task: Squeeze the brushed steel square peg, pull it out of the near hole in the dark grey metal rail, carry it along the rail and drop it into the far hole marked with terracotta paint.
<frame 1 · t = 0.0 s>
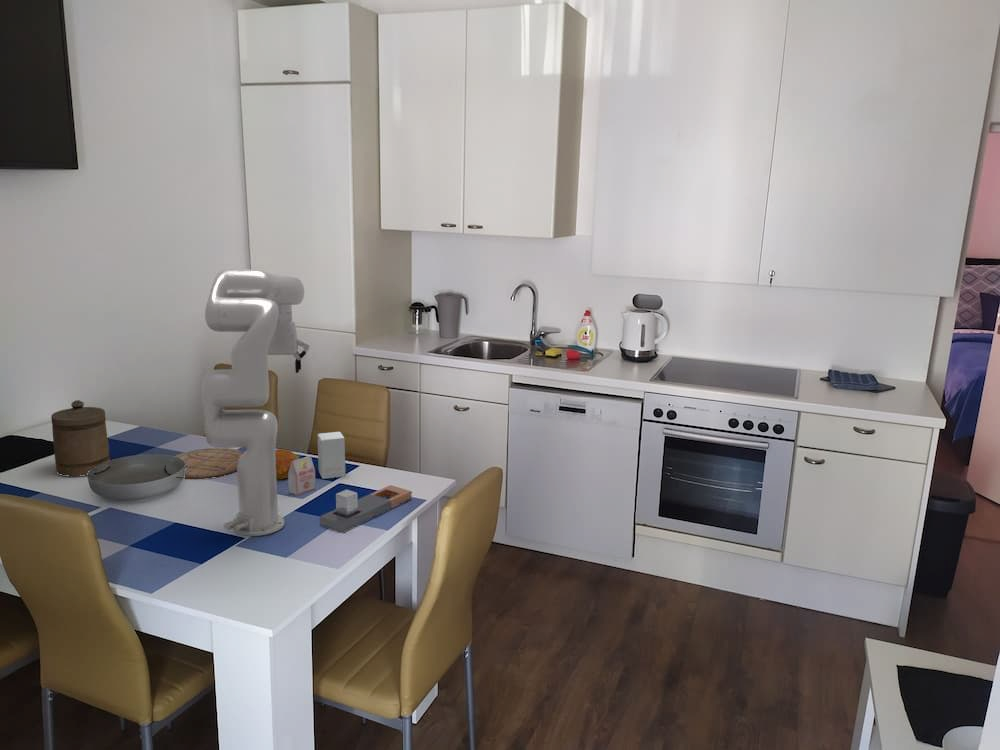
hand: (281, 372, 239), 31 cm above the table, tool pointing down, fingers open, 9 cm apart
supplement box: (331, 474, 241), on the table
rail: (367, 511, 213), on the table
white printed paper bag: (302, 491, 227), on the table
trivet: (207, 466, 246), on the table
croissant: (279, 473, 241), on the table
steel peg: (347, 521, 207), resting in rail
wooden container: (83, 469, 240), on the table
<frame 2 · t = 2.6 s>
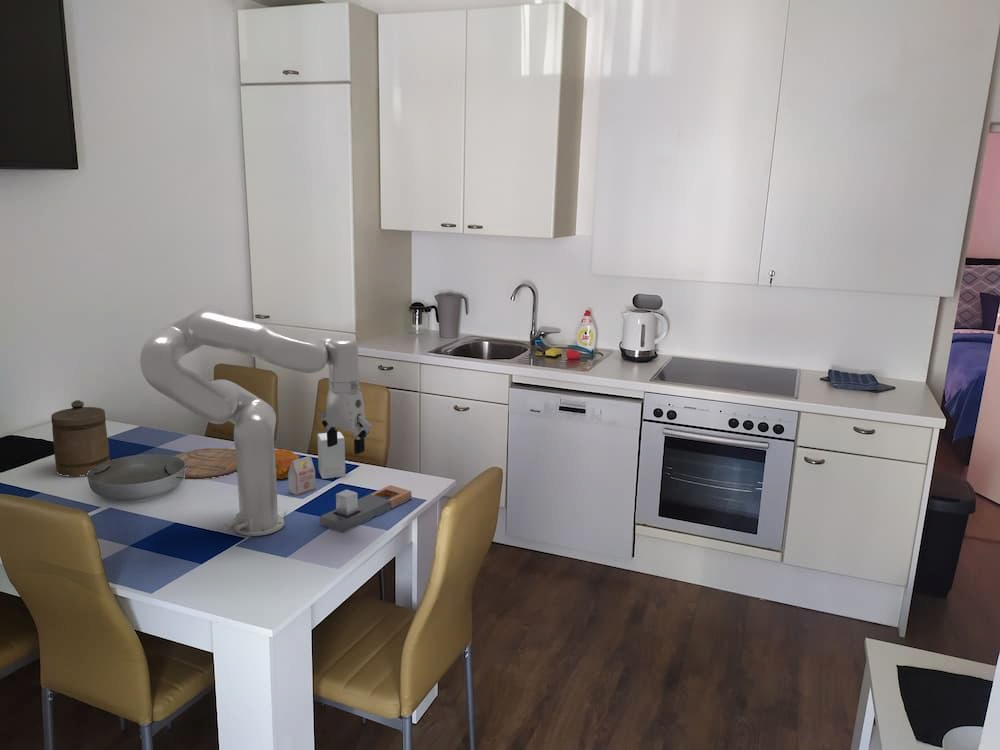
hand: (345, 449, 202), 20 cm above the table, tool pointing down, fingers open, 9 cm apart
nothing on the table moved.
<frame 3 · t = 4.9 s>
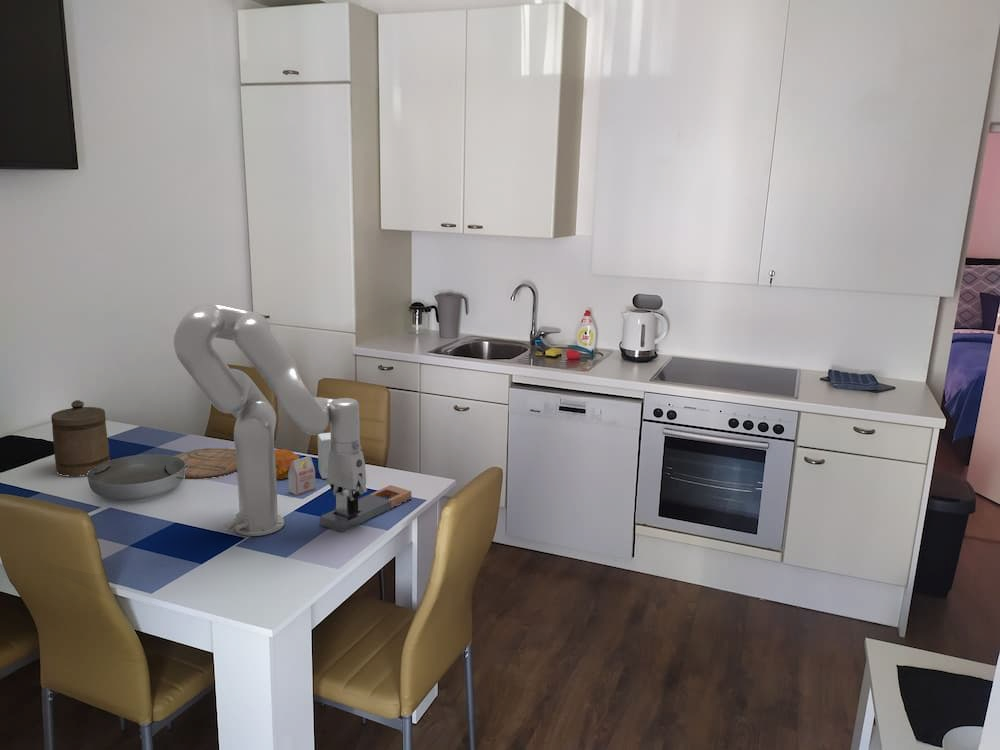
hand: (346, 509, 206), 3 cm above the table, tool pointing down, fingers closed on steel peg, 4 cm apart
steel peg: (346, 521, 207), resting in rail, touching gripper
everything else where it was.
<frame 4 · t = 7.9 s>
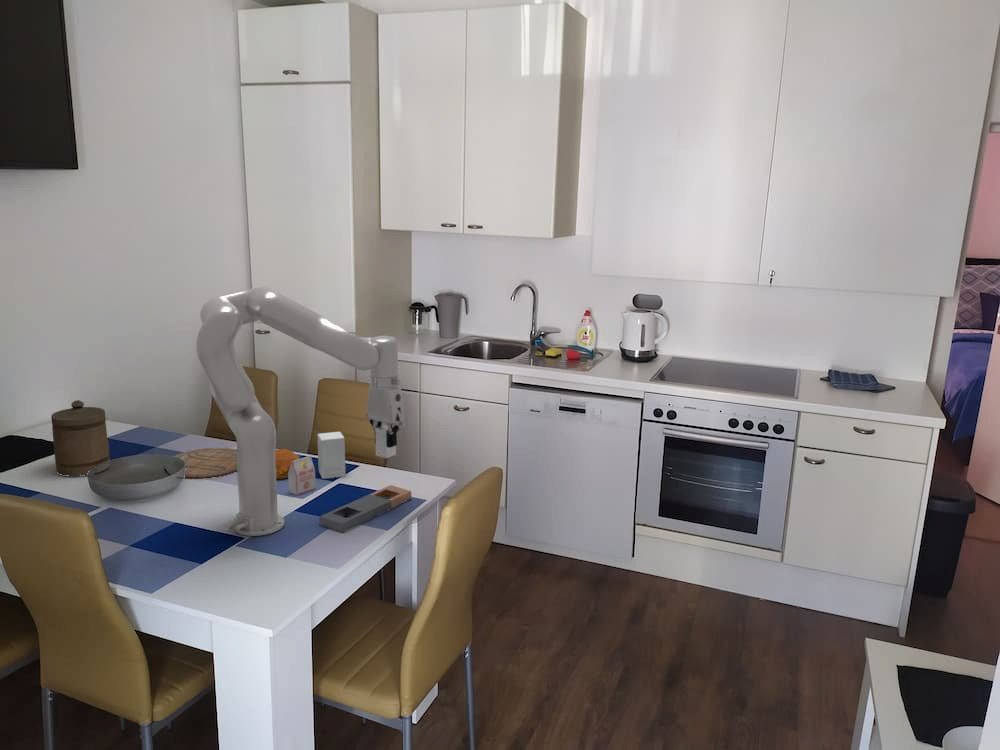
hand: (385, 444, 215), 18 cm above the table, tool pointing down, fingers closed on steel peg, 4 cm apart
steel peg: (386, 454, 216), point 14 cm above the table, touching gripper
everything else where it was.
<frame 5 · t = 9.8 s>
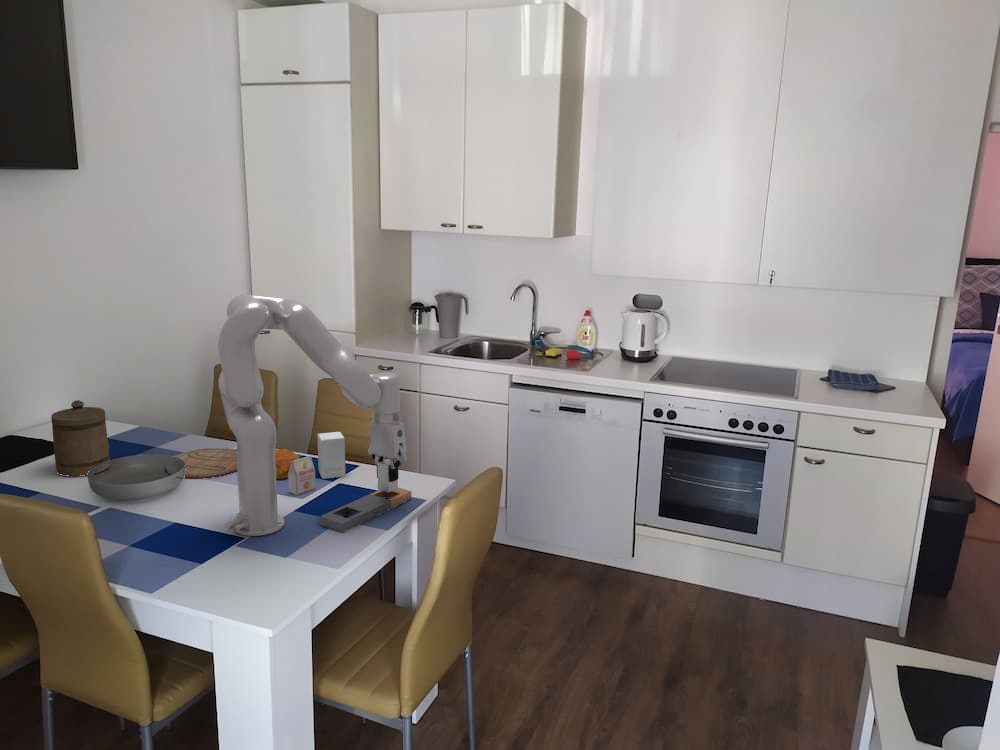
hand: (387, 478, 218), 7 cm above the table, tool pointing down, fingers closed on steel peg, 4 cm apart
steel peg: (387, 488, 219), point 4 cm above the table, touching gripper
everything else where it was.
when the fingers open (5 cm above the table, at t = 11.1 s): steel peg drops 2 cm, resting in rail.
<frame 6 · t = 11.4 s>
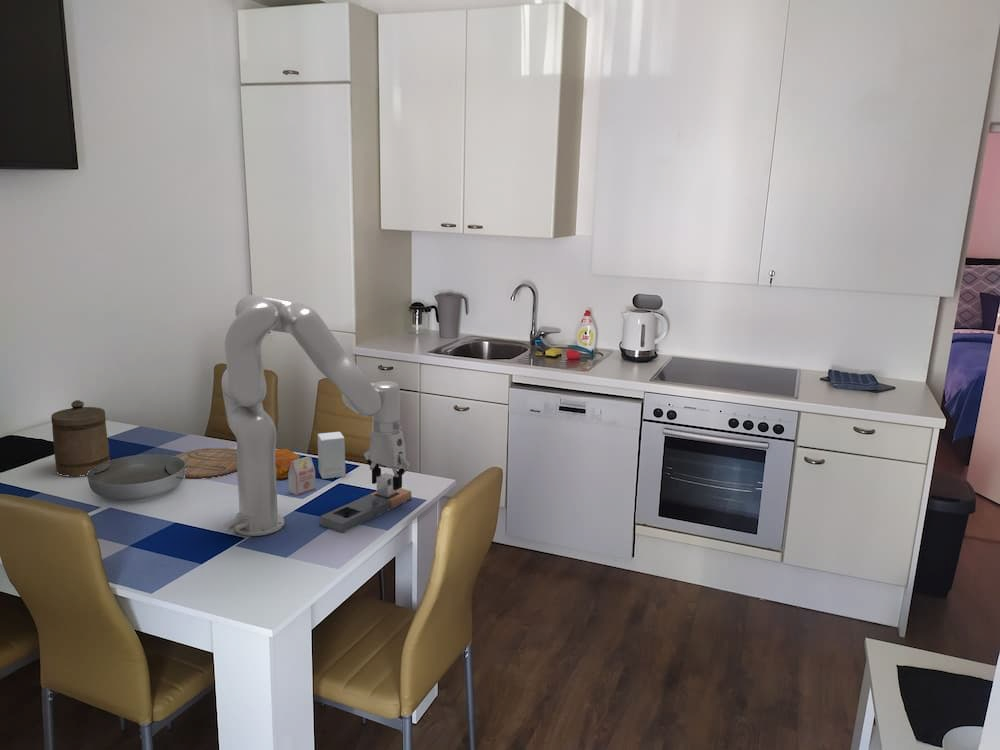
hand: (386, 485, 219), 5 cm above the table, tool pointing down, fingers open, 7 cm apart
steel peg: (386, 502, 220), resting in rail
everything else where it was.
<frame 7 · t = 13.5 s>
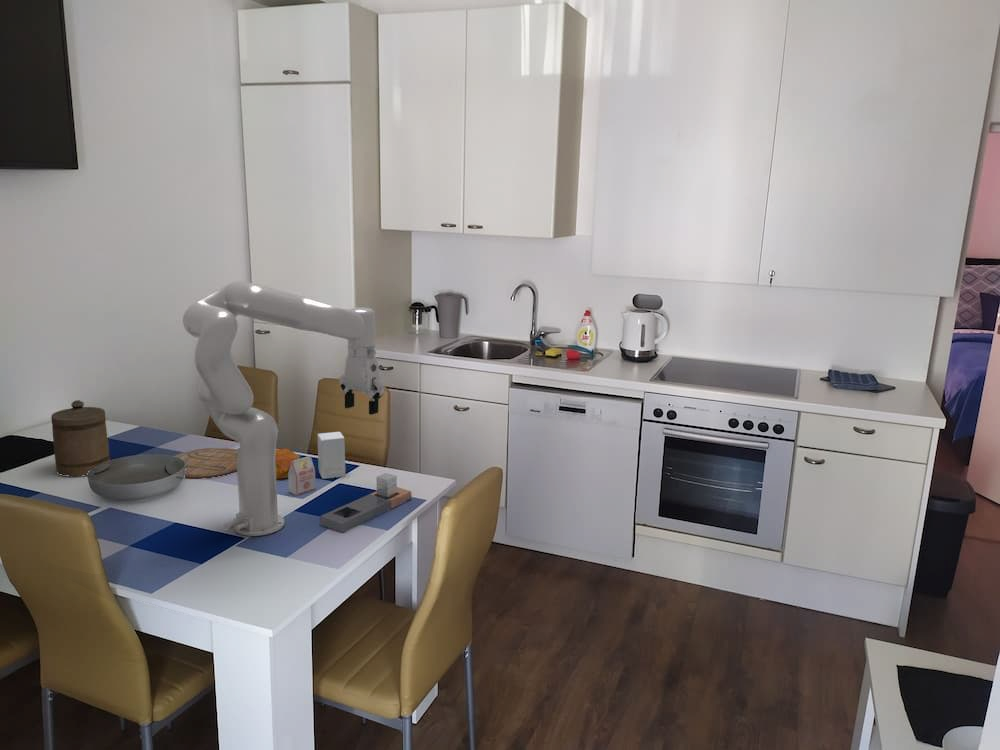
hand: (361, 410, 220), 25 cm above the table, tool pointing down, fingers open, 9 cm apart
nothing on the table moved.
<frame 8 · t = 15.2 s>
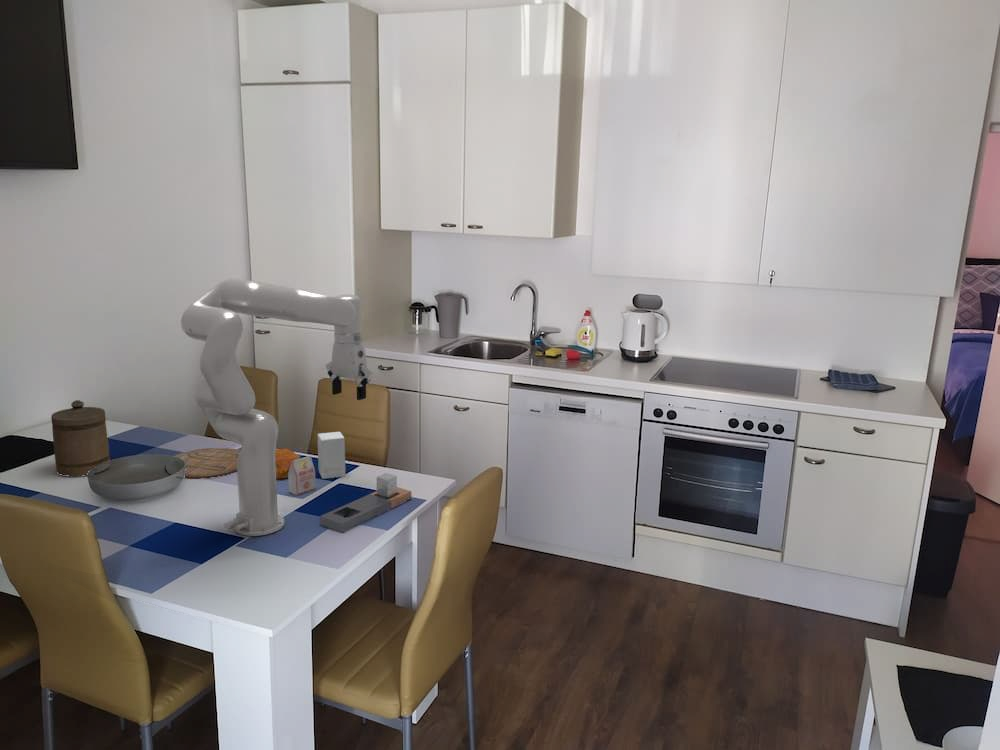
hand: (349, 396, 224), 28 cm above the table, tool pointing down, fingers open, 9 cm apart
nothing on the table moved.
at the end: steel peg 0.1 cm from the target spot on the rail, point 0.0 cm above the rail's base; steel peg tilted 0°; the gripper is holding nothing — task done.
